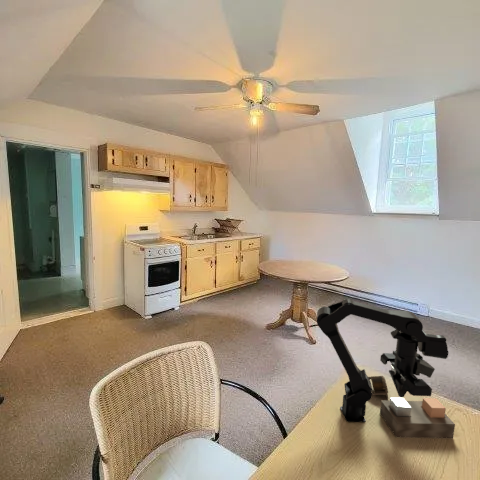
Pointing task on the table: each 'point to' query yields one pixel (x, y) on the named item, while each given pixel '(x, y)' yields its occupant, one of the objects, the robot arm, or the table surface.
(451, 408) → the table surface
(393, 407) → the aluminium plug
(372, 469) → the table surface
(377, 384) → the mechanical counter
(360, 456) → the table surface
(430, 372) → the robot arm
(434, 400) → the terracotta plug
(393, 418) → the plug panel
